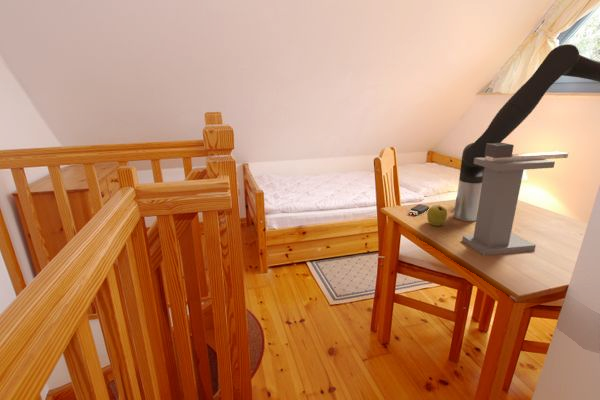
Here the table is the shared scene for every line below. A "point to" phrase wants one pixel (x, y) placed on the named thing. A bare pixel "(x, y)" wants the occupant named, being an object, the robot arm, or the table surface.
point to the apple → (436, 215)
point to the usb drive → (419, 209)
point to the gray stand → (500, 206)
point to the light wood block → (504, 153)
